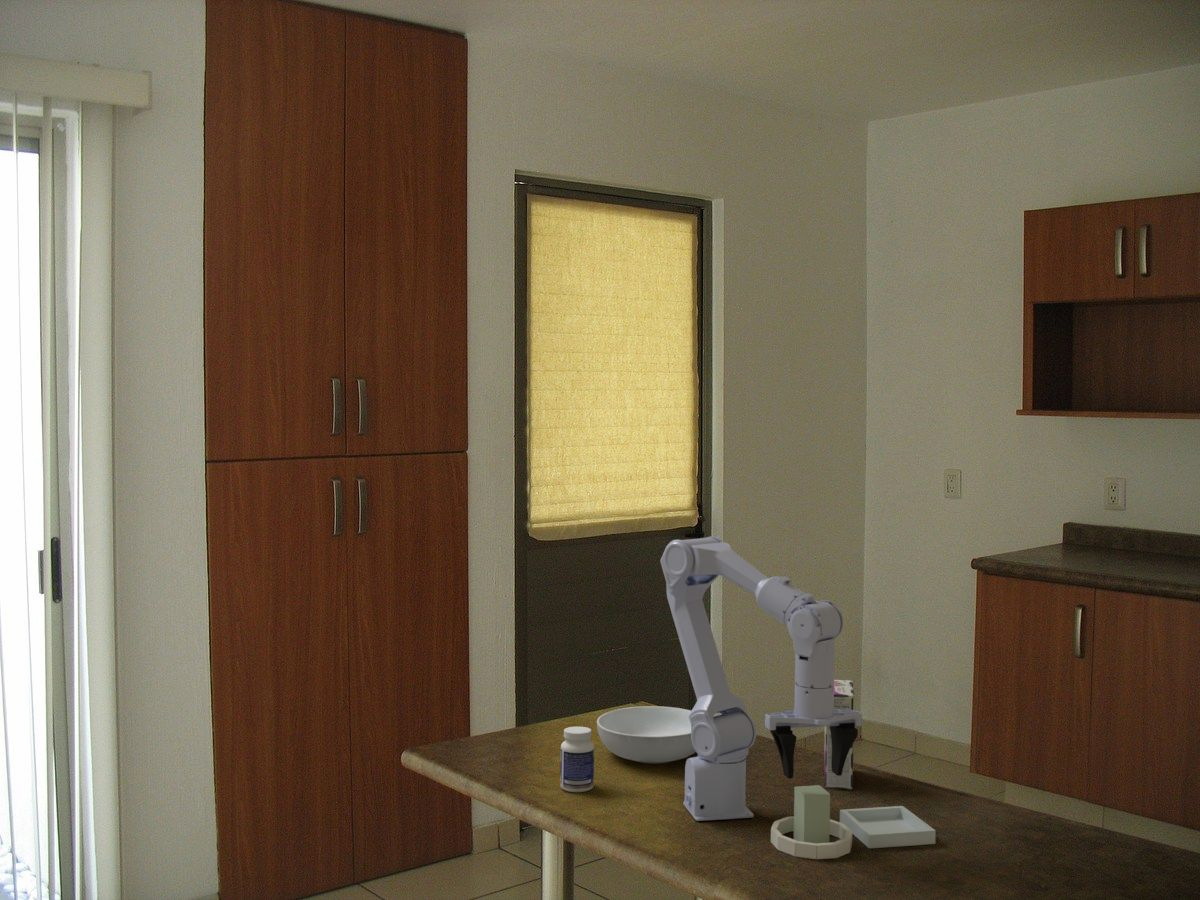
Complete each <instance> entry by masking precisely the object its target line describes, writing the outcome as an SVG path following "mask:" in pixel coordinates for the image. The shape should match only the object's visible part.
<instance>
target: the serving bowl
mask: <svg viewBox="0 0 1200 900" xmlns="http://www.w3.org/2000/svg"><path fill="white" fill-rule="evenodd" d="M691 711H692V710H690V709H685V708H680V707H672V706H658V705H657V706H656V705H650V706H649V705H645V706H644V705H643V706H640V705H639V706H630V707H623V708H618V709H614V710H613V709H612V710H611V711H607V712H605V713H603V714H601V715H599V716H598V718H597V719H596V726H597V733H598V737H599V739H600V740H601V743H602V744H603V746H605V748H606V749H607V750H608V751H610V752H611V753H613V754H614V755H616V756H617V757H620V758H623V759H626V760H630V761H634V762H638V763H642V764H658V765H659V764H666V763H670V762H675V761H679V760H682V759H685V758H688V757H690V756H691V755H693V754H695V753H697V752H696V751H695V749H694V747H693V745H692V741H691V723H690V719H689V714H690V712H691Z"/></svg>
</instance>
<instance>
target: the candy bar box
mask: <svg viewBox="0 0 1200 900" xmlns="http://www.w3.org/2000/svg"><path fill="white" fill-rule="evenodd" d="M854 695H855V694H854V683H853V680H849V679H834V709H835V710H855V709H854V708H855V707H854V704H855V702H854V701H855V700H854V699H855V698H854V697H855V696H854ZM823 730H824V731H823V733H824V738H823V739H824V741H823V743H824V755H823V756H824V759H823V761H824V786H825V788H827V789H837V790H853V788H854V787H853V786H854V743H853V744H852V746H851V748H850V750H849V752H848V755H847V757H846V760H845V764H844V767H843V771H842V775H841V776H837V775H836V774H835V773H833V772H832V765H831V762H832V741H831V731H830V726H824V729H823Z"/></svg>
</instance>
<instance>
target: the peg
mask: <svg viewBox="0 0 1200 900" xmlns="http://www.w3.org/2000/svg"><path fill="white" fill-rule="evenodd" d="M793 793H794V795H793V797H794V798H793V799H794V800H793V801H794V802H793V816H794V831H793V839H794V840H796V841H802V842H810V843H829V842H830V836H831V835H830V819H831V793H830V792H828V791H827V790H826V789H825V788H823V786H821V784H818V785H817V784H815V785H801V786H794V792H793Z"/></svg>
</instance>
